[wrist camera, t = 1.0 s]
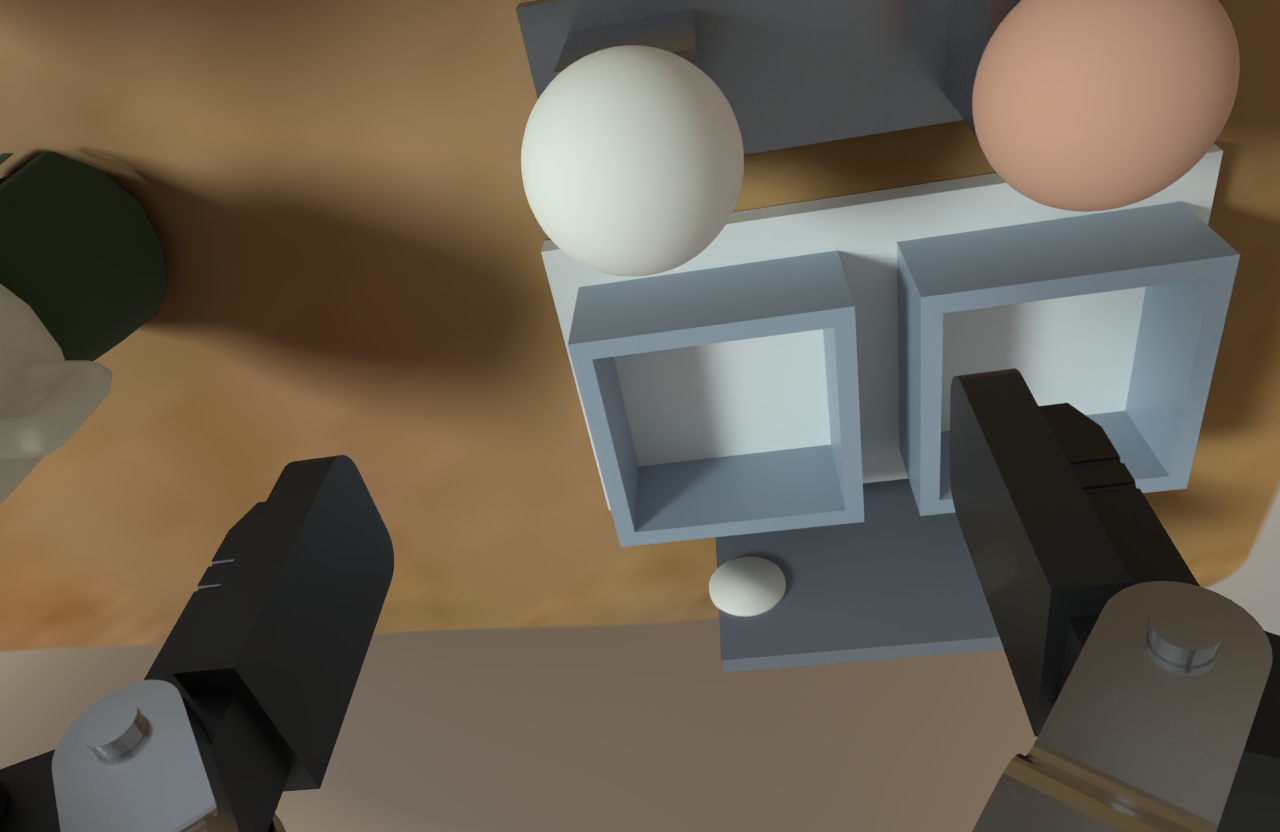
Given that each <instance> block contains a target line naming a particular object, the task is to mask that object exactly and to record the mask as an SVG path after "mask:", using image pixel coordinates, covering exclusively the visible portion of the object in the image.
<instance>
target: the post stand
mask: <svg viewBox="0 0 1280 832" xmlns="http://www.w3.org/2000/svg"><path fill="white" fill-rule="evenodd" d="M1020 1H1021V0H536V1H531V2H525V3H520V4H519V5H518V7H517V8H516V10H517V14H518V18H519V23H520V27H521V31H522V35H523V39H524V43H525V48H526V52H527V56H528V60H529V64H530V68H531V73H532V77H533V81H534V85H535V89H536V93H537V98H538V99H539V97H540V96H541V94H542V93H543V92H544V90H545V89H546V88H547V86H548V85H549V84H550V82H551V81H552V80H553V79H554V78H555V77H556V76H557V75H558V74H559V73H560V72H562V71H563V70H564V69H566V68H567V67H568V66H569V65H571V64H572V63H574V62H576V61H578V60H579V59H581V58H583V57H585V56H587V55H589V54H592V53H594V52H597V51H599V50H603V49H607V48H611V47H616V46H625V45H638V46H648V47H654V48H659V49H662V50H665V51H668V52H672V53H674V54H676V55H678V56H680V57H682V58H684V59H686V60H687V61H689V62H691V63H692V64H694V65H695V66H697V67H698V68H699V69H700V70H701V71H703V72H704V73H705V74H706V75H707V76H708V77H710V78H711V80H712V81H713V82H714V83H715V84H716V85H717V86H718V87H719V89H720V90H721V91H722V93H723V94H724V96H725V97H726V99H727V100H728V102H729V104H730V106H731V108H732V110H733V112H734V114H735V117H736V120H737V123H738V126H739V129H740V132H741V137H742V142H743V150H744V155H746V154H752V153H759V152H765V151H771V150H778V149H784V148H790V147H797V146H803V145H809V144H816V143H822V142H828V141H835V140H841V139H847V138H853V137H860V136H866V135H872V134H879V133H885V132H891V131H898V130H904V129H910V128H917V127H923V126H929V125H936V124H942V123H948V122H955V121H961V120H965V122H966V123H967V124H968V126H969V127H970V128H971V130H972V131H973V132H974V133H975V135H976V131H975V126H974V120H973V110H972V97H973V87H974V82H975V78H976V73H977V69H978V66H979V63H980V61H981V58H982V55H983V52H984V50H985V48H986V46H987V44H988V42H989V40H990V38H991V37H992V35H993V34H994V32H995V31H996V29H997V28H998V26H999V25H1000V23H1001V22H1002V21H1003V20H1004V18H1005V17H1006V16H1007V15H1008V13H1009V12H1010V11H1011V10H1012V9H1013V8H1014V7H1015V6H1016V5H1017V4H1018V3H1019V2H1020ZM976 136H977V135H976Z"/></svg>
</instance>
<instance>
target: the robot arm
mask: <svg viewBox="0 0 1280 832" xmlns="http://www.w3.org/2000/svg"><path fill="white" fill-rule="evenodd" d="M949 471H950V485H951V492H952V498H953V503H954V508H955V512H956V515H957V519H958V522H959V524H960V527H961V530H962V533H963V536H964V538H965V541H966V544H967V547H968V550H969V552H970V555H971V558H972V561H973V564H974V566H975V569H976V572H977V575H978V578H979V581H980V583H981V586H982V589H983V592H984V595H985V597H986V600H987V603H988V606H989V609H990V611H991V614H992V617H993V620H994V623H995V625H996V628H997V631H998V634H999V637H1000V640H1001V642H1002V645H1003V648H1004V651H1005V654H1006V656H1007V659H1008V662H1009V665H1010V668H1011V670H1012V673H1013V676H1014V679H1015V682H1016V684H1017V687H1018V690H1019V693H1020V696H1021V698H1022V701H1023V704H1024V707H1025V710H1026V713H1027V715H1028V718H1029V721H1030V724H1031V727H1032V729H1033V732H1034V735H1035V736H1038V738H1037V740H1036V742H1035V744H1034V745H1033V747H1032V749H1031V750H1030V752H1029V753H1028V754H1027V755H1026V756H1024V755H1022V754H1017V755H1016V756H1015V757H1014V758H1013V759H1012V760H1011V762H1010V763H1009V764H1008V766H1007V767H1006V769H1005V770H1004V772H1003V774H1002V776H1001V777H1000V779H999V781H998V783H997V785H996V787H995V789H994V791H993V792H992V794H991V796H990V798H989V801H988V802H987V804H986V806H985V808H984V810H983V812H982V814H981V815H980V818H979V819H978V821H977V823H976V825H975V827H974V829H973V831H972V832H1280V636H1278V635H1275V634H1272V633H1269V632H1266V631H1264V630H1263V628H1262V627H1261V626H1260V624H1259V623H1258V622H1257V621H1256V620H1255V619H1254V617H1252V616H1251V615H1250V614H1249V613H1248V612H1247V611H1246V610H1244V609H1243V608H1242V607H1241V606H1239V605H1238V604H1236V603H1234V602H1233V601H1232V600H1230V599H1228V598H1226V597H1224V596H1222V595H1220V594H1218V593H1216V592H1213V591H1211V590H1208V589H1206V588H1203V587H1200V585H1199V584H1198V583H1197V581H1196V580H1195V578H1194V576H1193V575H1192V573H1191V571H1190V570H1189V568H1188V566H1187V565H1186V563H1185V562H1184V560H1183V558H1182V557H1181V555H1180V553H1179V552H1178V550H1177V549H1176V547H1175V545H1174V544H1173V542H1172V540H1171V539H1170V537H1169V536H1168V534H1167V532H1166V531H1165V529H1164V527H1163V526H1162V524H1161V522H1160V521H1159V519H1158V518H1157V516H1156V514H1155V513H1154V511H1153V509H1152V508H1151V506H1150V505H1149V503H1148V501H1147V500H1146V498H1145V496H1144V495H1143V493H1142V492H1141V490H1140V488H1136V485H1135V480H1134V478H1133V477H1132V475H1131V474H1130V472H1129V470H1128V469H1127V467H1126V465H1125V464H1124V463H1121V461H1120V456H1119V454H1118V452H1117V451H1116V449H1115V448H1114V446H1113V444H1112V443H1111V441H1110V439H1109V438H1108V436H1107V434H1106V433H1105V431H1104V430H1103V428H1102V426H1100V425H1099V424H1097V423H1096V422H1094V421H1093V420H1092V419H1090V418H1089V417H1087V416H1086V415H1084V414H1083V413H1082V412H1080V411H1079V410H1077V409H1076V408H1074V407H1073V406H1072V405H1070V404H1069V403H1061V404H1053V405H1045V406H1038V404H1037V402H1036V400H1035V399H1034V397H1033V395H1032V393H1031V391H1030V389H1029V387H1028V386H1027V384H1026V382H1025V380H1024V378H1023V376H1022V375H1021V373H1020V372H1019V370H1018V369H1016V368H1012V369H1005V370H997V371H990V372H982V373H974V374H967V375H959V376H954V377H953V379H952V382H951V393H950V463H949ZM212 563H213V565H212V566H211V567H208V568H207V570H206V572H205V573H204V575H203V577H202V579H201V580H200V582H199V584H198V588H199V589H198V591H196V592H194V593H193V595H192V596H191V598H190V600H189V602H188V603H187V605H186V607H185V609H184V610H183V612H182V614H181V616H180V617H179V619H178V621H177V623H176V624H175V626H174V628H173V630H172V631H171V633H170V635H169V637H168V638H167V640H166V642H165V644H164V645H163V647H162V649H161V651H160V652H159V654H158V656H157V658H156V659H155V661H154V663H153V665H152V666H151V668H150V670H149V672H148V674H147V675H146V677H145V679H144V680H143V681H139V682H135V683H131V684H129V685H126V686H123V687H121V688H119V689H117V690H115V691H113V692H111V693H109V694H107V695H106V696H104V697H102V698H101V699H99V700H98V701H96V702H95V703H94V704H93V705H91V706H90V707H89V708H87V709H86V710H85V711H84V712H83V713H82V714H81V715H80V716H79V717H78V718H77V719H76V720H75V721H74V722H73V723H72V724H71V725H70V727H69V728H68V729H67V731H66V732H65V733H64V735H63V736H62V738H61V740H60V741H59V743H58V745H57V747H56V749H55V750H52V751H49V752H47V753H44V754H42V755H39V756H36V757H33V758H31V759H28V760H25V761H22V762H20V763H17V764H15V765H11V766H9V767H6V768H4V769H1V770H0V832H286V831H285V828H284V826H283V824H282V822H281V821H280V819H279V818H278V817H277V815H276V814H275V811H276V808H277V806H278V803H279V800H280V798H281V795H282V792H283V791H295V790H308V789H319V788H320V787H321V784H322V781H323V778H324V775H325V772H326V769H327V766H328V763H329V761H330V758H331V755H332V752H333V749H334V746H335V743H336V740H337V737H338V734H339V731H340V728H341V725H342V722H343V719H344V717H345V714H346V711H347V708H348V705H349V702H350V699H351V696H352V693H353V690H354V687H355V685H356V682H357V679H358V676H359V673H360V670H361V667H362V664H363V661H364V659H365V656H366V653H367V650H368V647H369V644H370V641H371V638H372V635H373V632H374V630H375V627H376V624H377V621H378V618H379V615H380V612H381V609H382V606H383V603H384V600H385V598H386V595H387V592H388V589H389V586H390V583H391V580H392V576H393V570H394V552H393V546H392V541H391V538H390V535H389V533H388V531H387V528H386V526H385V524H384V522H383V520H382V518H381V516H380V514H379V512H378V510H377V508H376V506H375V504H374V502H373V500H372V498H371V496H370V494H369V491H368V489H367V487H366V485H365V483H364V481H363V479H362V477H361V475H360V473H359V471H358V469H357V467H356V465H355V464H354V462H353V461H352V460H351V459H350V458H349V457H347V456H345V455H340V456H332V457H325V458H317V459H309V460H302V461H294V462H291V463H289V464H288V465H287V466H285V468H284V469H283V471H282V473H281V475H280V477H279V478H278V480H277V482H276V484H275V486H274V488H273V489H272V491H271V493H270V495H269V497H268V499H267V501H266V502H259V503H257V504H256V505H255V506H254V507H253V508H252V509H251V510H250V511H249V512H248V513H247V514H246V515H245V516H244V517H243V518H242V519H240V520H239V521H238V522H237V523H236V524H235V525H234V526H233V527H232V528H231V529H230V530H229V531H228V533H227V535H226V537H225V538H224V540H223V542H222V544H221V545H220V547H219V549H218V551H217V552H216V554H215V556H214V558H213V559H212Z"/></svg>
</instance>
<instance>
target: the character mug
mask: <svg viewBox="0 0 1280 832" xmlns="http://www.w3.org/2000/svg"><path fill="white" fill-rule="evenodd" d="M12 154H14V153H3V154H2V155H0V165H1V164H2V163H3V162H4V161H5V160H6V159H8V158H9V157H10V156H11V155H12ZM166 289H167V279H166V272H165V265H164V258H163V251H162V247H161V245H160V243H159V241H158V239H157V237H156V235H155V233H154V231H153V229H152V227H151V225H150V223H149V220H148V218H147V216H146V214H145V212H144V210H143V208H142V206H141V204H140V203H139V202H137V201H136V200H135V199H134V198H133V197H131V196H130V195H129V194H128V193H127V192H125V191H124V190H123V189H122V188H121V187H119V186H118V185H117V184H116V183H115V182H113V181H112V180H111V179H110V178H109V177H107V176H106V175H105V174H104V173H102V172H101V171H100V170H98V169H96V168H93V167H91V166H88V165H86V164H83V163H81V162H78V161H75V160H73V159H70V158H68V157H65V156H63V155H60V154H58V153H55V152H42V153H41V154H39V155H38V156H37V157H36V158H34V159H33V160H32V161H30V162H29V163H28V164H26V165H25V166H24V167H23V168H21V169H20V170H19V171H17V172H16V173H14V174H12V175H9V176H6V177H4V178H1V179H0V505H1V504H2V503H3V502H4V501H5V500H6V498H7V497H8V496H9V495H10V494H11V493H12V492H13V491H14V490H15V488H16V487H17V486H18V485H19V484H20V483H21V482H22V481H23V480H24V478H25V477H26V476H27V475H28V474H29V473H30V472H31V471H32V470H33V468H34V467H35V466H36V465H37V464H38V463H39V462H40V461H41V460H42V458H43V457H44V456H45V455H49V454H51V453H52V452H54V451H55V450H57V449H58V448H59V447H61V446H62V445H64V444H65V443H66V442H67V441H68V440H69V438H70V437H71V436H72V435H73V434H74V433H75V432H76V431H77V429H78V428H79V427H80V426H81V425H82V424H83V423H84V422H85V420H86V419H87V418H88V417H89V416H90V415H91V414H92V413H93V411H94V410H95V409H96V408H97V407H98V406H99V405H100V404H101V402H102V401H103V400H104V399H105V398H106V397H107V395H108V392H109V389H110V386H111V379H112V371H110V370H109V369H108V368H106V367H105V366H103V365H102V364H100V363H98V362H93V361H94V360H96V359H97V358H99V357H100V356H101V355H103V354H104V353H106V352H107V351H109V350H110V349H111V348H113V347H114V346H116V345H117V344H119V343H120V342H121V341H123V340H124V339H126V338H127V337H128V336H129V335H131V334H132V333H133V332H134V331H135V330H137V329H138V328H139V327H140V326H142V325H143V324H144V323H145V322H147V321H148V320H149V319H150V318H152V317H153V316H154V315H155V314H156V312H157V310H158V307H159V305H160V303H161V300H162V298H163V296H164V293H165V291H166Z"/></svg>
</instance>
